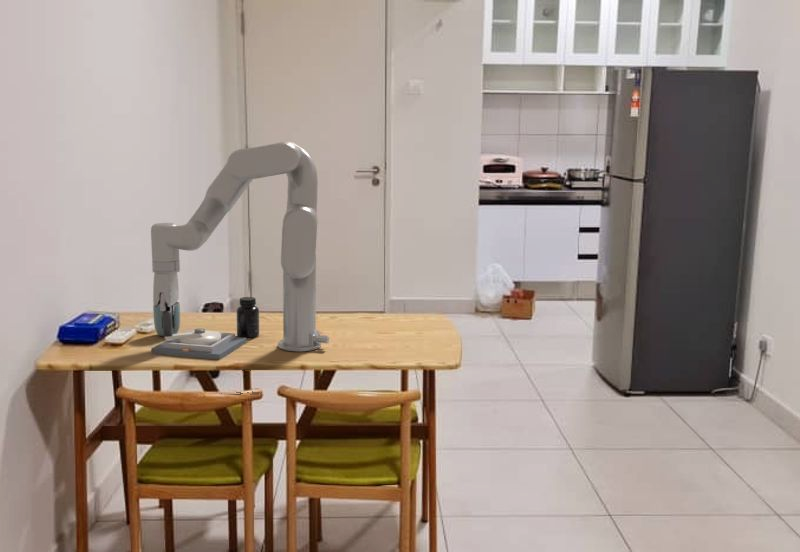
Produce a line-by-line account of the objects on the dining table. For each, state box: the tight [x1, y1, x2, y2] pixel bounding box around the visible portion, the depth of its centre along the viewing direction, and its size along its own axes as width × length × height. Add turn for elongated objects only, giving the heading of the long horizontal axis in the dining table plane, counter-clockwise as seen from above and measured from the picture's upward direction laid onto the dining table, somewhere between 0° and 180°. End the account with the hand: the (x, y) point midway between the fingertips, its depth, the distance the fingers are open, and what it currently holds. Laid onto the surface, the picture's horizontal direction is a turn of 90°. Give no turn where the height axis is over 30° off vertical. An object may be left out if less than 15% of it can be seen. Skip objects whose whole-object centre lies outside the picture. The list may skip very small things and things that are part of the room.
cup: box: [152, 301, 181, 338], centre depth 239 cm, size 8×8×10 cm
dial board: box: [150, 329, 247, 360], centre depth 227 cm, size 21×18×3 cm
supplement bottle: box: [236, 296, 260, 340], centre depth 240 cm, size 7×7×12 cm
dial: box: [162, 311, 221, 346], centre depth 225 cm, size 16×12×10 cm
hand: (168, 328), depth 227 cm, fingers closed
